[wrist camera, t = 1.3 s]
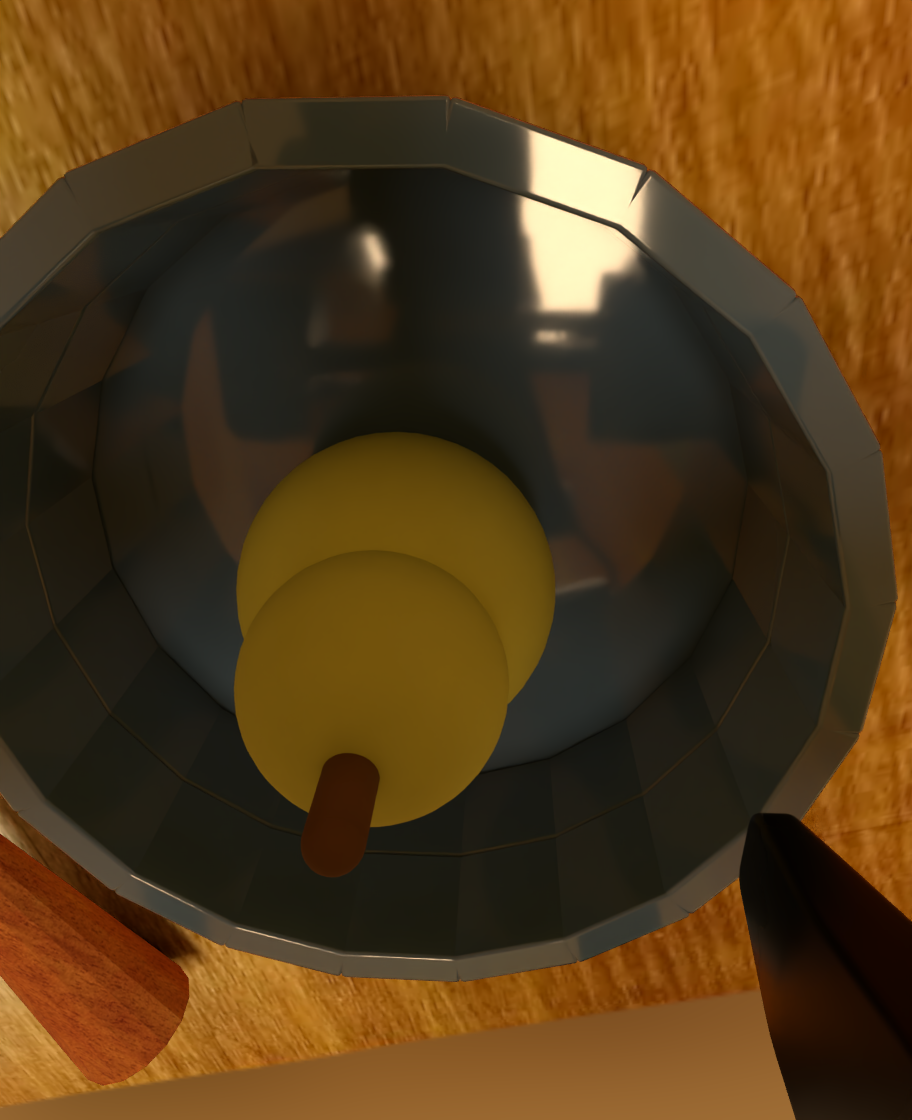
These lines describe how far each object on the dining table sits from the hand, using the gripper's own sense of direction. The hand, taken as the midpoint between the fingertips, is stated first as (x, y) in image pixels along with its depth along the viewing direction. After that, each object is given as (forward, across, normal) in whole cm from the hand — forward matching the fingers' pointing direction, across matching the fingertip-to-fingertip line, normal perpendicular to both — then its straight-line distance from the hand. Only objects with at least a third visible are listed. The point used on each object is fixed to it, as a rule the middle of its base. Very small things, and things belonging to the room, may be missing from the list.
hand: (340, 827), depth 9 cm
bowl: (+9, 0, 0) cm, 9 cm away
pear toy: (+8, 0, 0) cm, 8 cm away
